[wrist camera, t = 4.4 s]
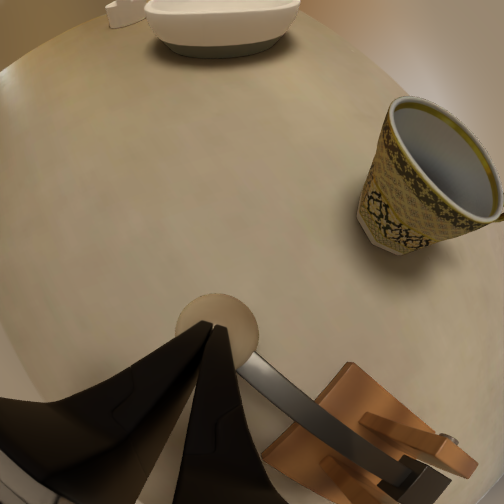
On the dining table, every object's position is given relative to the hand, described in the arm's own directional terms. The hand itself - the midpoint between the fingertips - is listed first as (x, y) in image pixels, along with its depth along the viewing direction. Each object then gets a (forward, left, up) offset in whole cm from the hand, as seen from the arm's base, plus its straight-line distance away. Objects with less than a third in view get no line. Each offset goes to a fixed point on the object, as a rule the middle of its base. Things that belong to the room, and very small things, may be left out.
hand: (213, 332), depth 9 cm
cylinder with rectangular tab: (+27, +60, -9) cm, 66 cm away
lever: (0, -6, -3) cm, 7 cm away
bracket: (0, -13, -9) cm, 16 cm away
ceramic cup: (+17, -5, -9) cm, 20 cm away
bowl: (+29, +31, -9) cm, 44 cm away
